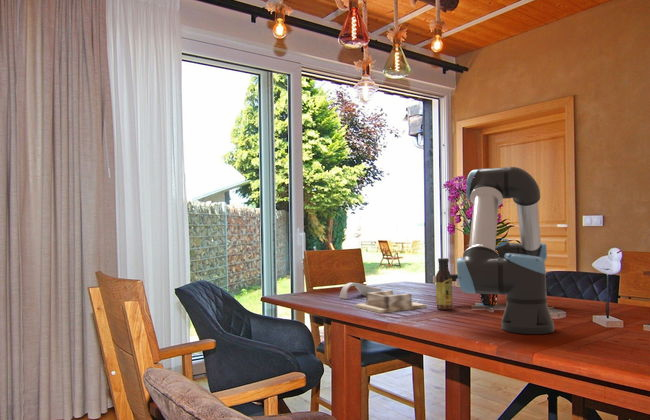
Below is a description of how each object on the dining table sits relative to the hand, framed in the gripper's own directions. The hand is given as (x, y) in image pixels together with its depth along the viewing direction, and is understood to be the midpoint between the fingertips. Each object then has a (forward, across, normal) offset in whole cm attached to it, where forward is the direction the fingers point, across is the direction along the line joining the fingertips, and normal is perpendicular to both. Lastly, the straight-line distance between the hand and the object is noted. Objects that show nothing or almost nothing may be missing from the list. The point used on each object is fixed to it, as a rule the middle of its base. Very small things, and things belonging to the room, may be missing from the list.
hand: (444, 280), depth 195 cm
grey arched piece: (+8, +50, -11) cm, 52 cm away
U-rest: (+16, +15, -11) cm, 24 cm away
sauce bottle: (+1, 0, -11) cm, 11 cm away
